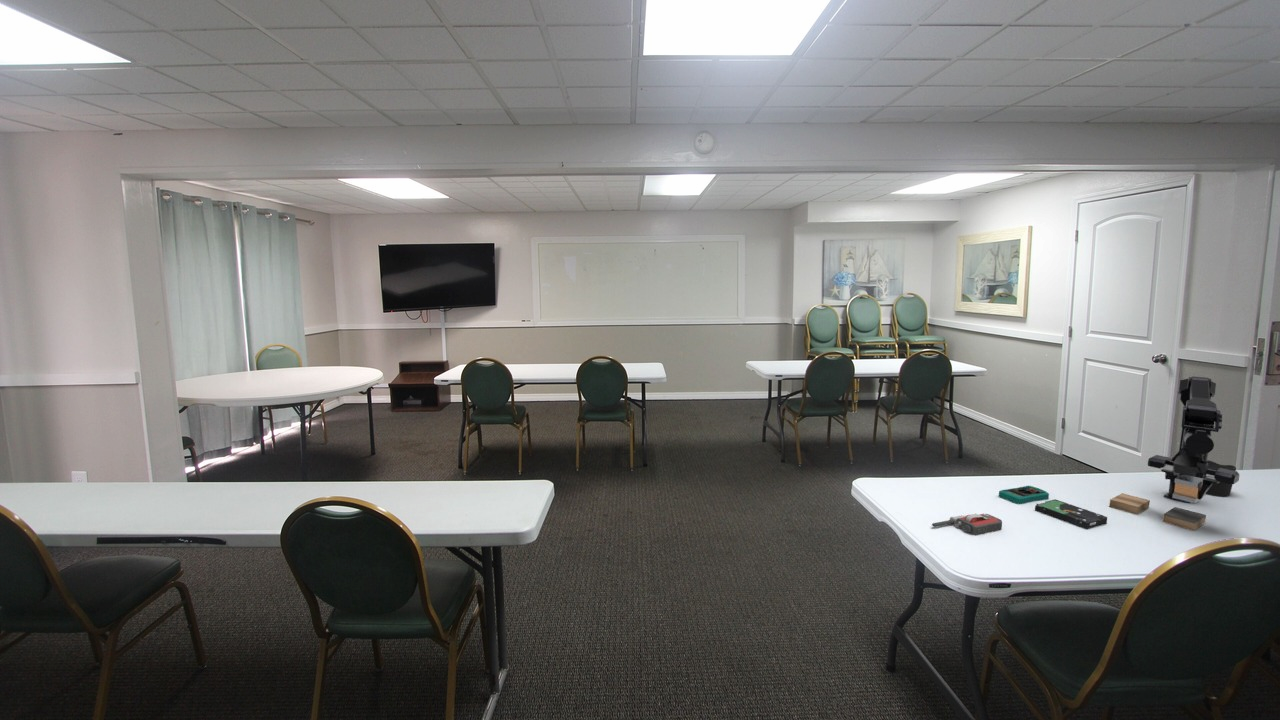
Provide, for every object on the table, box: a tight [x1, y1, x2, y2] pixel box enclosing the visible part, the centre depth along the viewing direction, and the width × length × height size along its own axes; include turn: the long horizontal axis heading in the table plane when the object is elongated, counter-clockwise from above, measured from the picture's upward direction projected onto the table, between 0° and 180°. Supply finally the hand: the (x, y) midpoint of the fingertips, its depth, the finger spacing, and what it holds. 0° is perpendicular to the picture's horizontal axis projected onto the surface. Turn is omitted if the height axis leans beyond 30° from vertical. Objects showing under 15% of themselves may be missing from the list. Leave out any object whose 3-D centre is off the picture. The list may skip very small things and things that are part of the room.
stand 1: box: [1108, 493, 1151, 515], centre depth 178 cm, size 10×7×2 cm
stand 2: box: [1162, 506, 1207, 531], centre depth 167 cm, size 10×7×2 cm
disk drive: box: [1034, 499, 1108, 530], centre depth 171 cm, size 10×3×15 cm
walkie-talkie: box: [931, 513, 1003, 536], centre depth 163 cm, size 9×4×20 cm
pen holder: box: [1204, 459, 1237, 498], centre depth 191 cm, size 9×9×10 cm
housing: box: [1172, 474, 1203, 504], centre depth 166 cm, size 7×5×6 cm
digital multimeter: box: [998, 485, 1050, 505], centre depth 186 cm, size 7×15×3 cm, turn 110°
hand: (1187, 496), depth 166 cm, fingers closed on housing, 5 cm apart
